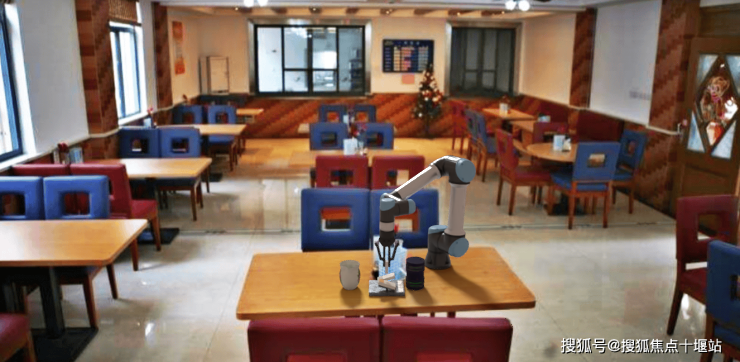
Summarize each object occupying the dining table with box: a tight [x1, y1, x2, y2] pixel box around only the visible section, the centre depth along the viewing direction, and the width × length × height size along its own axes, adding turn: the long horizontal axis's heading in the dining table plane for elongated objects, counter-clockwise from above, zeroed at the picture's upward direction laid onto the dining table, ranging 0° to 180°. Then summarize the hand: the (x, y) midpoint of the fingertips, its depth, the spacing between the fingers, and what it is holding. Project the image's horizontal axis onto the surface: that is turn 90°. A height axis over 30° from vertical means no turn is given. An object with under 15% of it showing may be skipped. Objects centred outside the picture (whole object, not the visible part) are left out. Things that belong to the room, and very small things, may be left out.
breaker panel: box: [368, 279, 406, 297], centre depth 295 cm, size 18×15×4 cm
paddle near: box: [377, 278, 396, 290], centre depth 291 cm, size 9×4×2 cm, turn 91°
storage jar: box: [405, 256, 426, 292], centre depth 298 cm, size 10×10×15 cm
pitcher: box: [338, 259, 361, 291], centre depth 298 cm, size 11×18×14 cm, turn 1°
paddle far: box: [377, 272, 396, 281], centre depth 298 cm, size 9×4×2 cm, turn 89°
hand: (386, 272), depth 293 cm, fingers closed
